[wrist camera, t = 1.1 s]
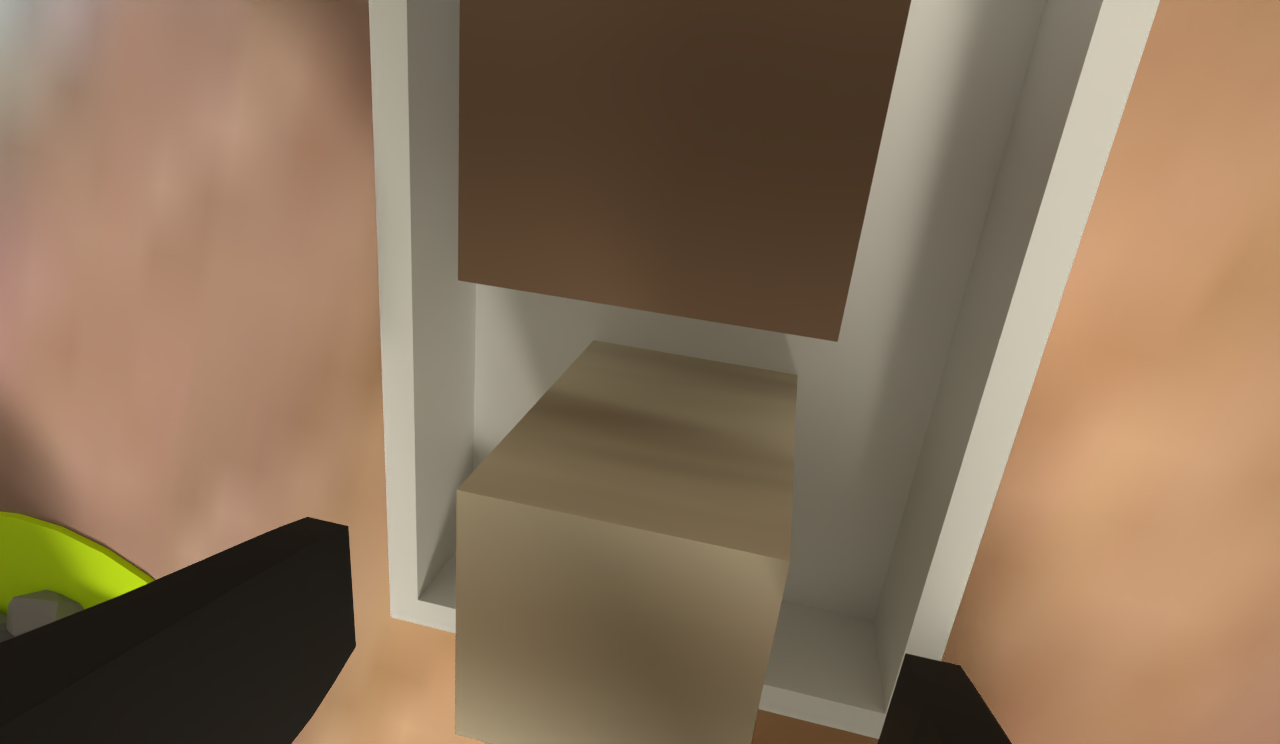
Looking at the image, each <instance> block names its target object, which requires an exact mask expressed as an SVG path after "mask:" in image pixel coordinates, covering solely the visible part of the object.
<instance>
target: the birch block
mask: <svg viewBox="0 0 1280 744" xmlns="http://www.w3.org/2000/svg"><path fill="white" fill-rule="evenodd" d="M796 400H797V375H795V374H789V373H783V372H777V371H771V370H765V369H759V368H754V367H748V366H742V365H736V364H730V363H724V362H719V361H713V360H707V359H701V358H695V357H689V356H683V355H678V354H672V353H666V352H660V351H654V350H648V349H642V348H637V347H631V346H625V345H619V344H613V343H607V342H602V341H596V340H593V341H592V342H591V343H590V345H589V346H588V347H587V348H586V349H585V350H584V351H583V352H582V353H581V354H580V356H579V357H578V358H577V359H576V360H575V361H574V362H573V363H572V364H571V365H570V366H569V368H568V369H567V370H566V371H565V372H564V373H563V374H562V375H561V376H560V377H559V378H558V380H557V381H556V382H555V383H554V384H553V385H552V386H551V387H550V388H549V389H548V390H547V392H546V393H545V394H544V395H543V396H542V397H541V398H540V399H539V400H538V401H537V402H536V404H535V405H534V406H533V407H532V408H531V409H530V410H529V411H528V412H527V413H526V415H525V416H524V417H523V418H522V419H521V420H520V421H519V422H518V423H517V424H516V425H515V427H514V428H513V429H512V430H511V431H510V432H509V433H508V434H507V435H506V436H505V437H504V439H503V440H502V441H501V442H500V443H499V444H498V445H497V446H496V447H495V448H494V449H493V451H492V452H491V453H490V454H489V455H488V456H487V457H486V458H485V459H484V460H483V461H482V463H481V464H480V465H479V466H478V467H477V468H476V469H475V470H474V471H473V472H472V474H471V475H470V476H469V477H468V478H467V479H466V480H465V481H464V482H463V483H462V484H461V486H460V487H459V488H458V489H457V498H456V656H455V734H457V735H460V736H464V737H468V738H471V739H475V740H479V741H482V742H486V743H489V744H751V740H752V736H753V731H754V727H755V722H756V717H757V713H758V708H759V703H760V699H761V694H762V689H763V685H764V680H765V676H766V671H767V666H768V662H769V657H770V652H771V648H772V643H773V639H774V634H775V629H776V625H777V620H778V615H779V611H780V606H781V602H782V597H783V592H784V588H785V583H786V578H787V574H788V569H789V564H790V553H791V528H792V502H793V477H794V451H795V426H796Z"/></svg>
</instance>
